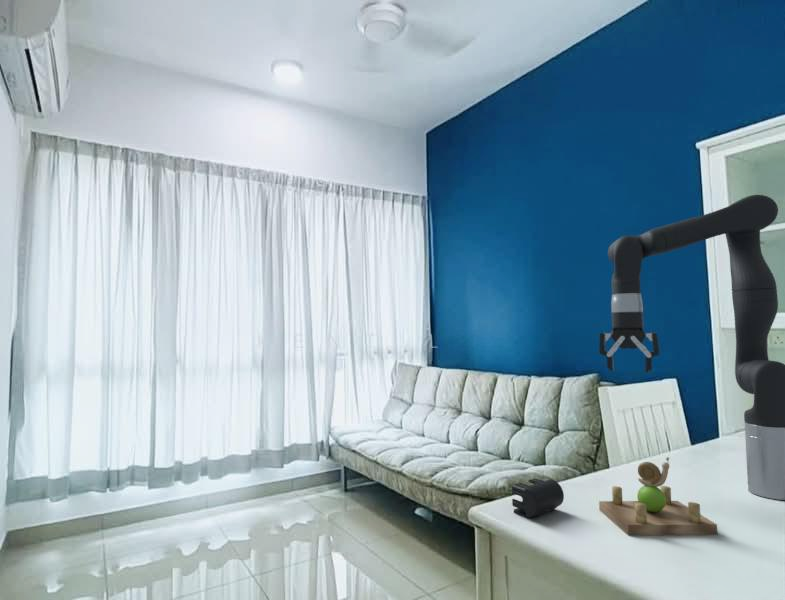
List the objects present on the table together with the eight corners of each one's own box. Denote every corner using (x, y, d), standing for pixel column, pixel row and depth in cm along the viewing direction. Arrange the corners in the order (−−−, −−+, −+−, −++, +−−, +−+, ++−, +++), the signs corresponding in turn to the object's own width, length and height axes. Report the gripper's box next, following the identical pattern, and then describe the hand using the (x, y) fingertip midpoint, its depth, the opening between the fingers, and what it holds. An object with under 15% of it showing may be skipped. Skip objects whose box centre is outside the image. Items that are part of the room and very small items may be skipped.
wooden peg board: (678, 509, 107) (676, 485, 107) (717, 534, 94) (716, 506, 94) (599, 510, 107) (598, 485, 107) (628, 535, 94) (626, 507, 94)
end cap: (537, 523, 100) (536, 491, 100) (511, 513, 105) (510, 482, 106) (564, 512, 106) (564, 482, 106) (538, 503, 111) (537, 474, 112)
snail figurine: (669, 519, 96) (666, 460, 97) (635, 512, 100) (632, 455, 101) (674, 511, 100) (671, 455, 101) (641, 504, 104) (638, 450, 105)
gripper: (596, 311, 126) (598, 371, 125) (657, 309, 119) (660, 373, 118) (599, 312, 132) (602, 369, 131) (657, 310, 125) (660, 371, 124)
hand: (629, 371), depth 124 cm, fingers open, 8 cm apart
